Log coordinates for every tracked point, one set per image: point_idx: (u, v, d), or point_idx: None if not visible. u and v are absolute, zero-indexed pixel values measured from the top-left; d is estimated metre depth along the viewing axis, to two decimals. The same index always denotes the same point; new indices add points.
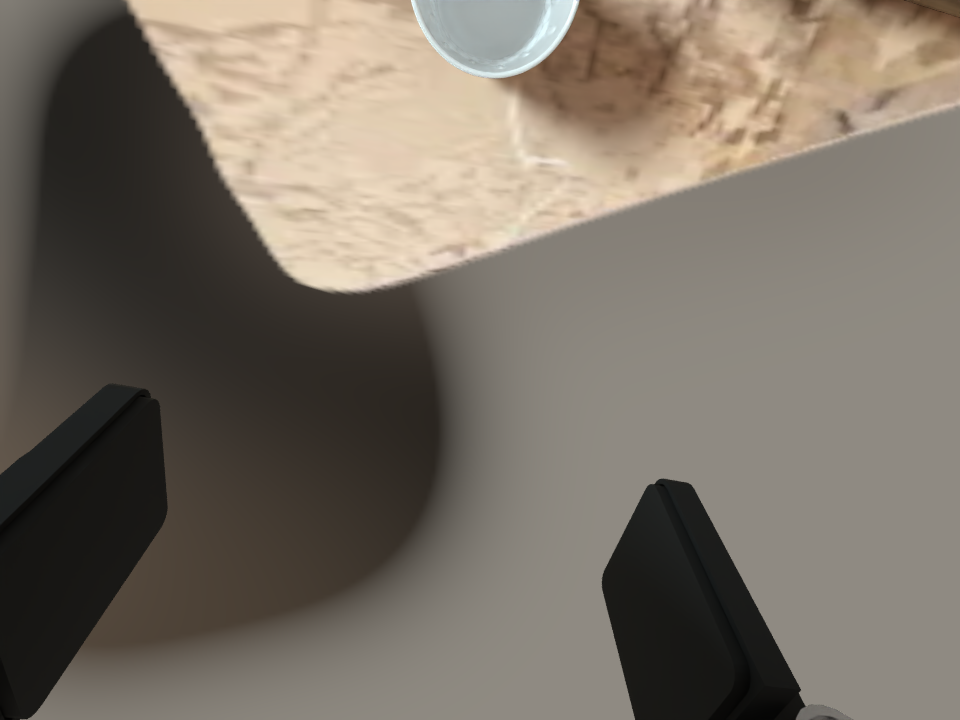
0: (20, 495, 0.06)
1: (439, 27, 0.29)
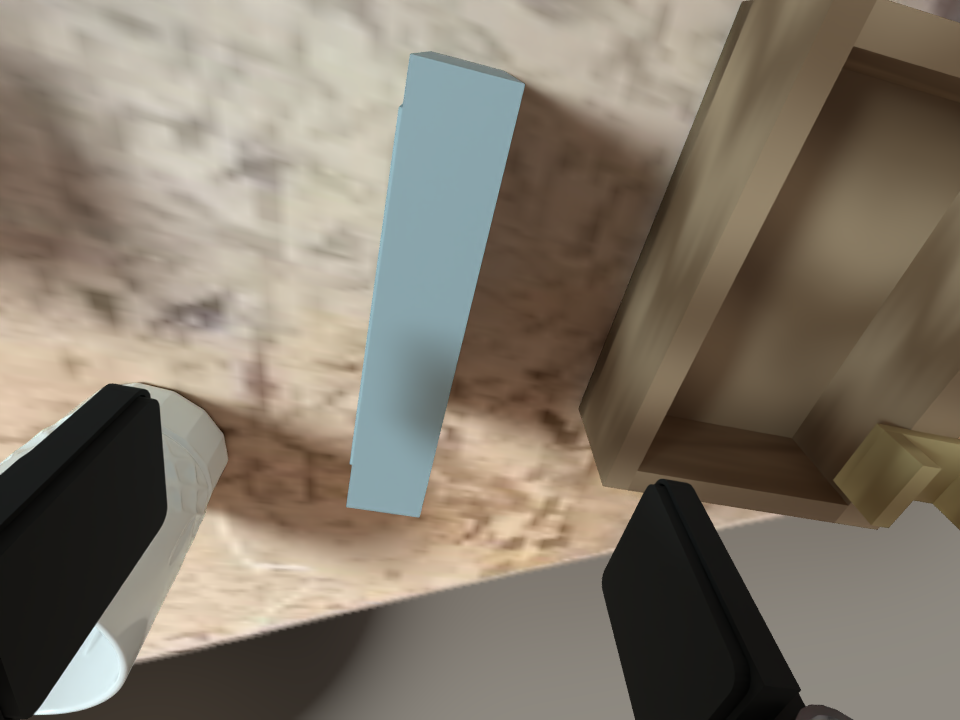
0: (20, 495, 0.06)
1: None
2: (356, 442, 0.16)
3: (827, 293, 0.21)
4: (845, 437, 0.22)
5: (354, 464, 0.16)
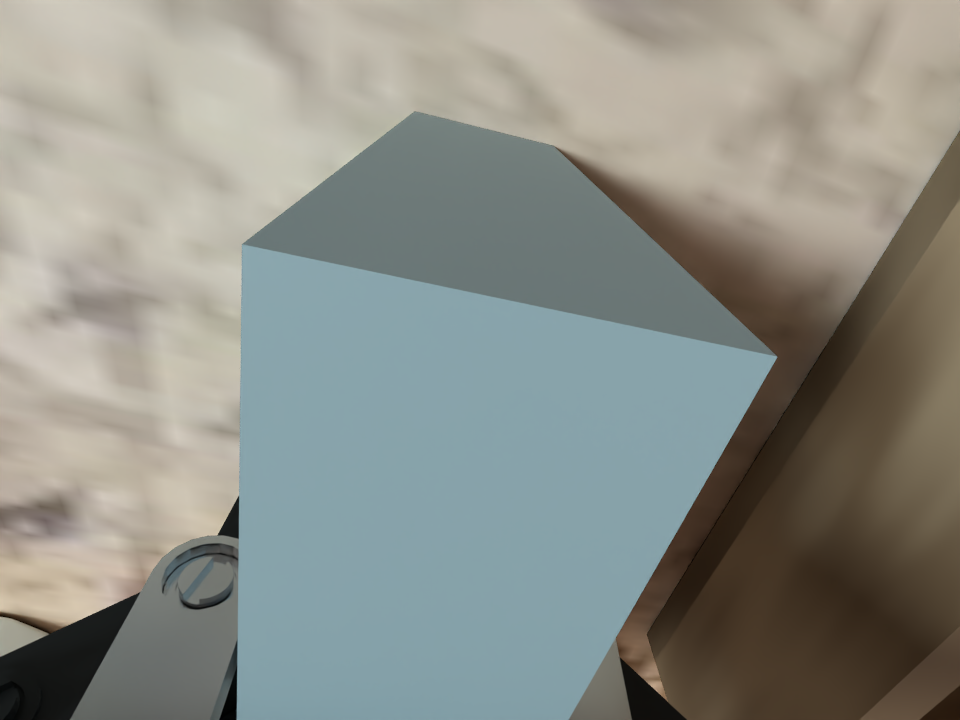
0: None
1: None
2: None
3: None
4: None
5: None
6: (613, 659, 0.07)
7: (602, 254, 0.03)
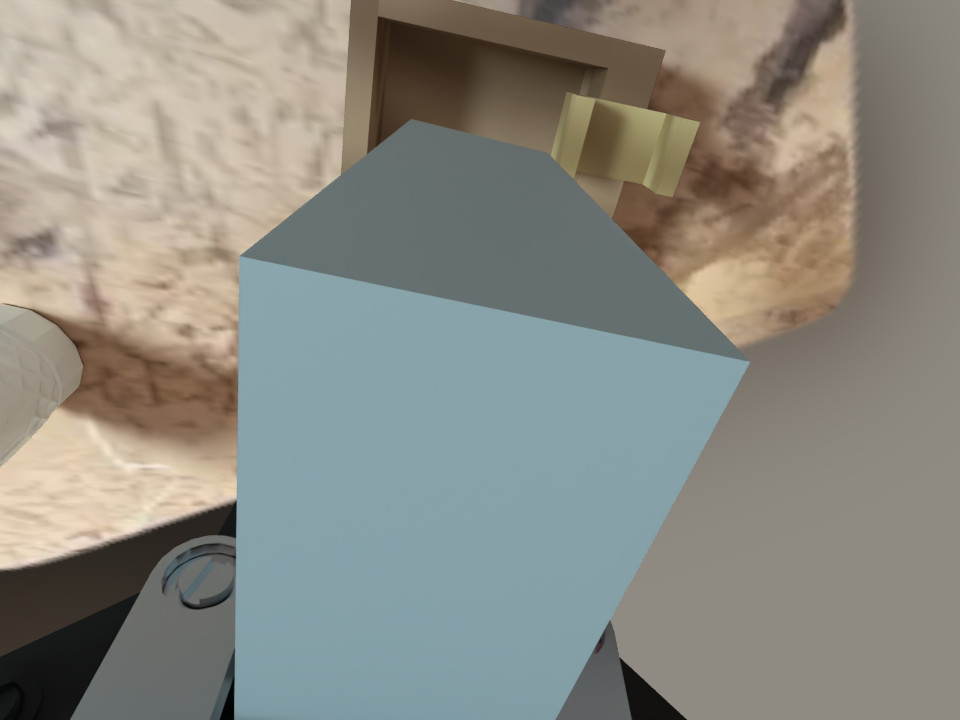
0: None
1: None
2: None
3: None
4: None
5: None
6: (612, 659, 0.07)
7: (588, 262, 0.03)
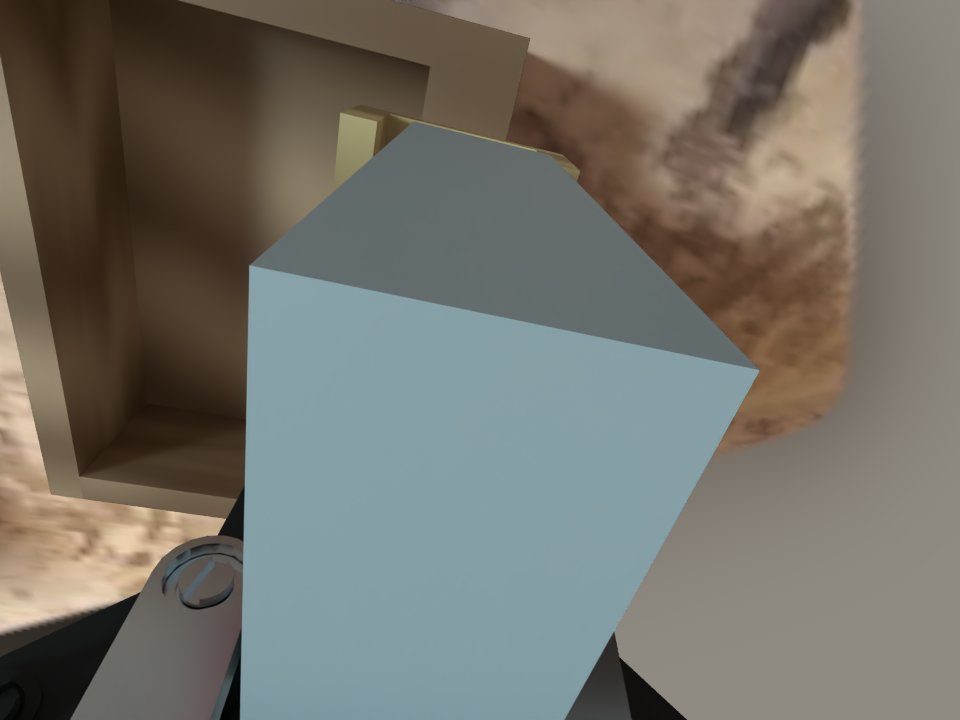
0: None
1: None
2: None
3: None
4: None
5: None
6: (613, 659, 0.07)
7: (594, 269, 0.03)
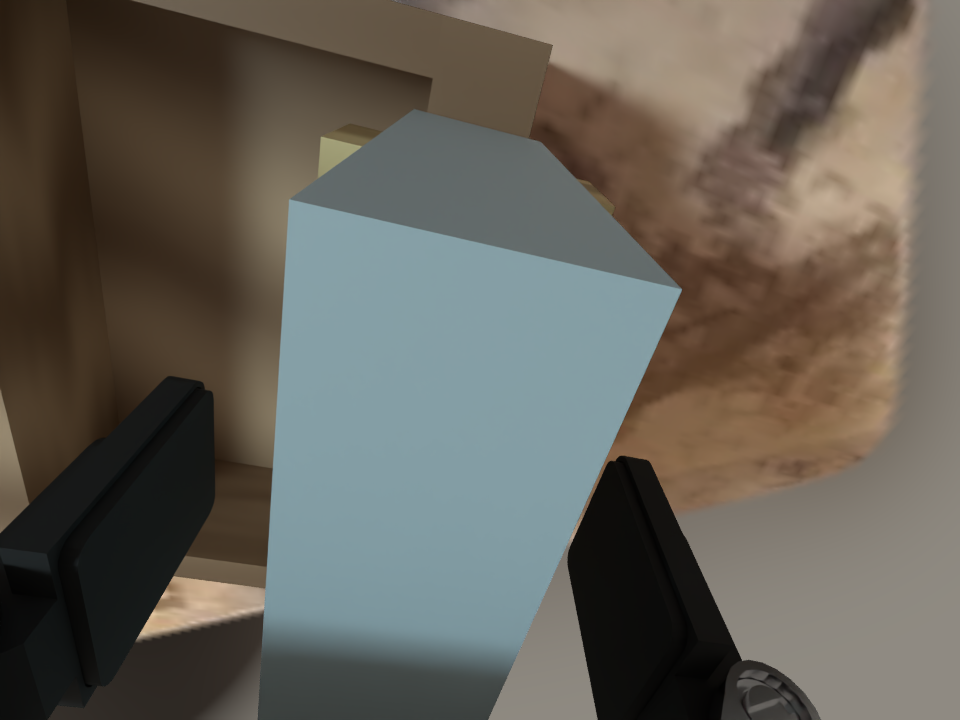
0: (104, 477, 0.07)
1: None
2: None
3: None
4: None
5: None
6: None
7: (562, 221, 0.04)
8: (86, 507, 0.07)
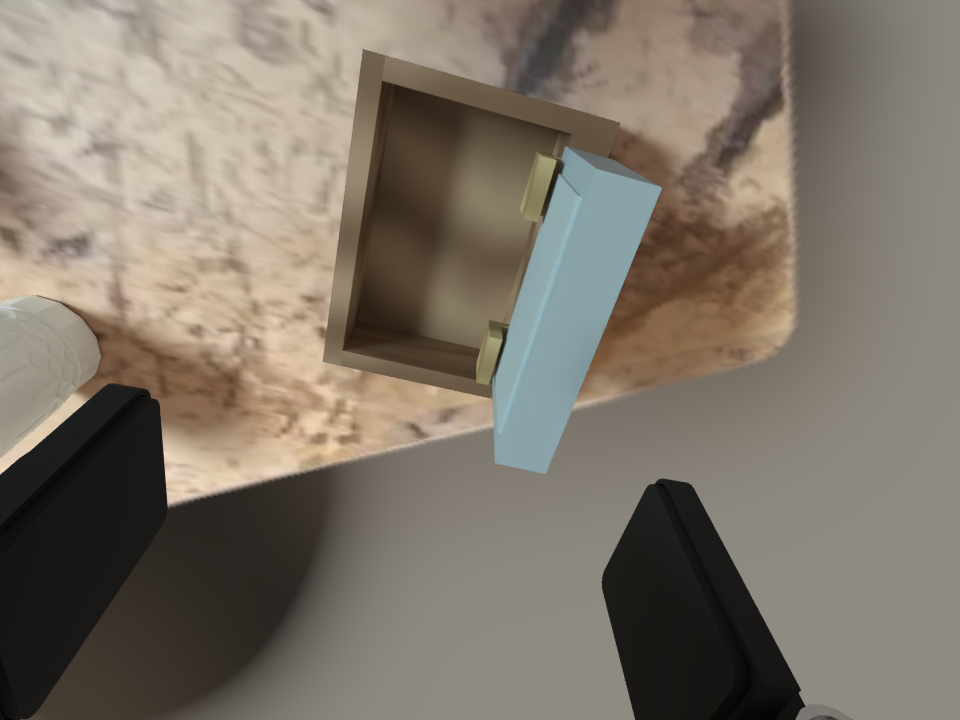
0: (20, 495, 0.06)
1: None
2: (512, 413, 0.22)
3: (483, 242, 0.31)
4: None
5: (507, 430, 0.23)
6: None
7: (637, 177, 0.19)
8: None
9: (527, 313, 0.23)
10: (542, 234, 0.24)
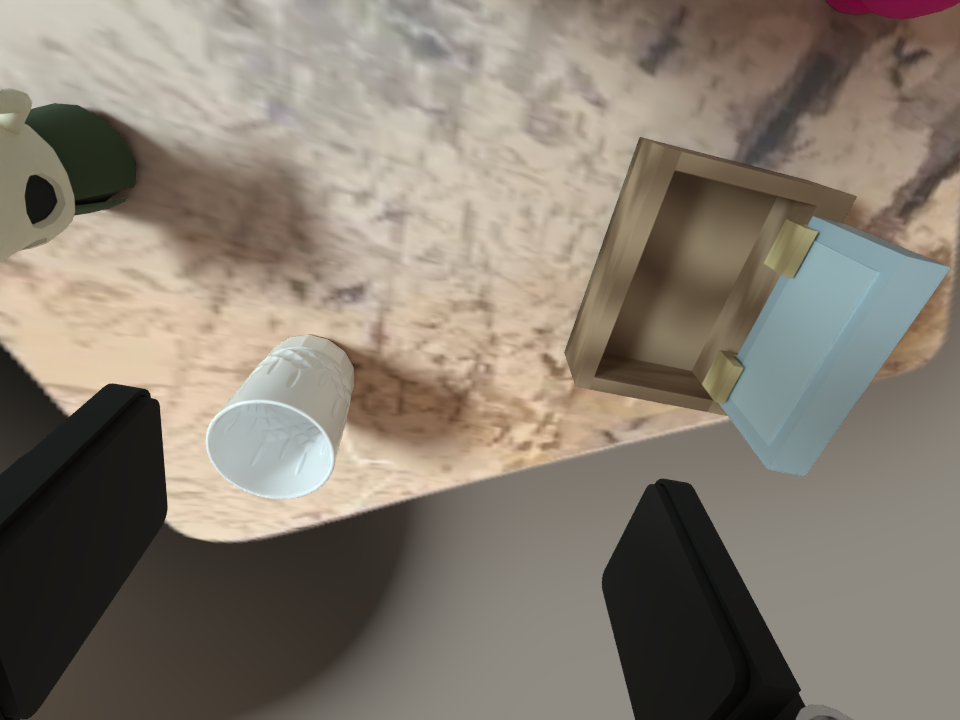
0: (20, 495, 0.06)
1: (259, 423, 0.38)
2: (792, 431, 0.29)
3: (700, 282, 0.37)
4: None
5: (785, 444, 0.29)
6: None
7: (922, 257, 0.25)
8: None
9: (794, 352, 0.30)
10: (797, 287, 0.30)
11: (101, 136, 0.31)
